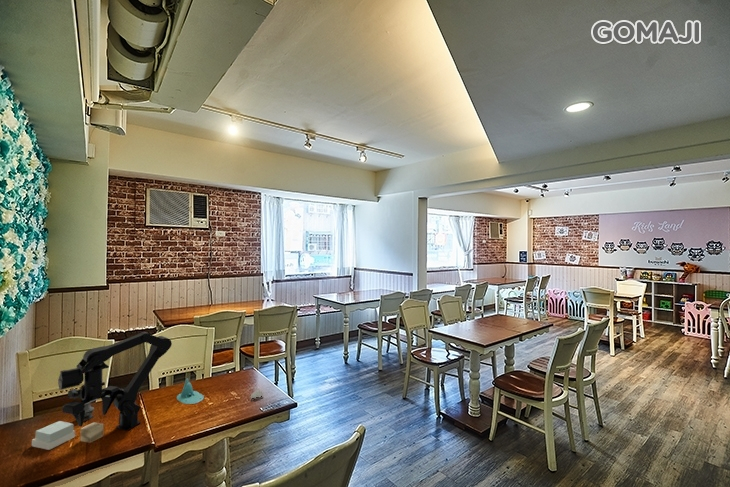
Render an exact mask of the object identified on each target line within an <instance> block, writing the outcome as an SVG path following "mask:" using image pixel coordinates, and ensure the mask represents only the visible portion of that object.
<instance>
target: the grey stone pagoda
mask: <svg viewBox="0 0 730 487" xmlns="http://www.w3.org/2000/svg"><path fill="white" fill-rule="evenodd" d="M83 400H84V399H81V401H83ZM94 409H95V407H94V406H91V403H88V404H86V405H85V408H84V409H83V410H85V415H84V421H83V422H85V421H88V420H91V419H92V418H94V414H93V412H94Z"/></svg>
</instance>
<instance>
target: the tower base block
mask: <svg viewBox="0 0 730 487" xmlns="http://www.w3.org/2000/svg"><path fill="white" fill-rule="evenodd" d="M75 437H76V430H74V429H73V432H71V433H69V434H67V435H65V436H63V437H60V438H58V439H56V440H54V441H52V442H46V441H42V440H38V439H35V438H36V437H34V438H33V439H31V447H33V448H38V449H42V450H48V451H50V450H52V449H54V448H56V447H58V446H60V445H62V444H64V443H66V442H68V441H70V440H71V439H73V438H75Z"/></svg>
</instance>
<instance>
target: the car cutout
mask: <svg viewBox="0 0 730 487" xmlns="http://www.w3.org/2000/svg"><path fill="white" fill-rule="evenodd" d="M263 395H264V391H263V390H261V389H255V390H254V392H252V393H251V394H250V399H252V398H255V399H257V398H256V397H259V396H262V397H264V396H263ZM262 397H261V398H262ZM259 398H260V397H259Z"/></svg>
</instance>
